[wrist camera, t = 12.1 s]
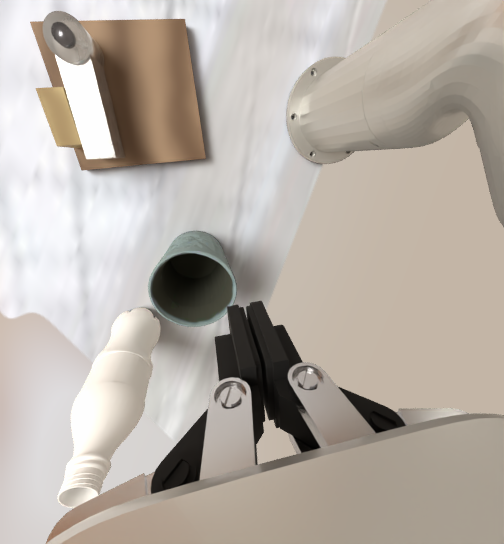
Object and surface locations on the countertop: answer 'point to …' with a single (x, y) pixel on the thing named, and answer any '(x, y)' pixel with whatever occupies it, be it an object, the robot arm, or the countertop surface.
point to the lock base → (134, 92)
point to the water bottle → (109, 404)
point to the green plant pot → (193, 281)
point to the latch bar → (84, 85)
